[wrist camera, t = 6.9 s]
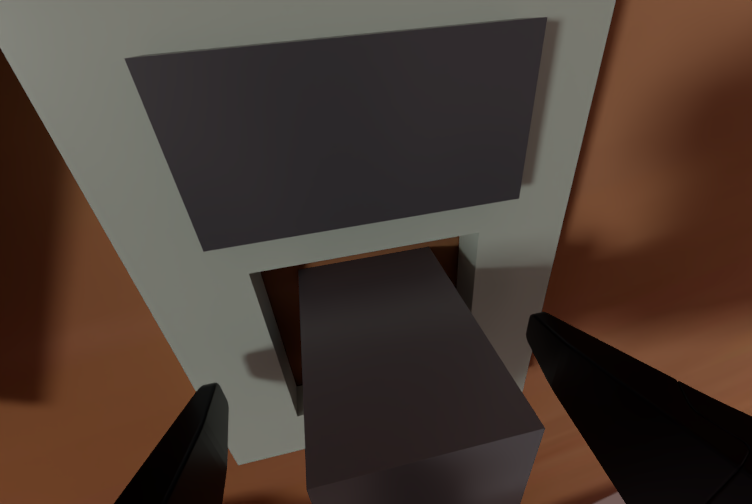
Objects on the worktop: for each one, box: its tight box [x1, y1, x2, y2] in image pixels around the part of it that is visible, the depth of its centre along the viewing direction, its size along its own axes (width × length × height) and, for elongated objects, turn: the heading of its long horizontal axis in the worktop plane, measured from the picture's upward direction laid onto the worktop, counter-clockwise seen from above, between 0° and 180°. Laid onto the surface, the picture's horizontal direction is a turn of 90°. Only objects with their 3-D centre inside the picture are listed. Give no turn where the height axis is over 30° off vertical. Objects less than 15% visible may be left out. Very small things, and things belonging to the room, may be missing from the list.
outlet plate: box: [0, 0, 616, 465], centre depth 10 cm, size 14×11×2 cm
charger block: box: [298, 247, 545, 504], centre depth 9 cm, size 4×4×6 cm
